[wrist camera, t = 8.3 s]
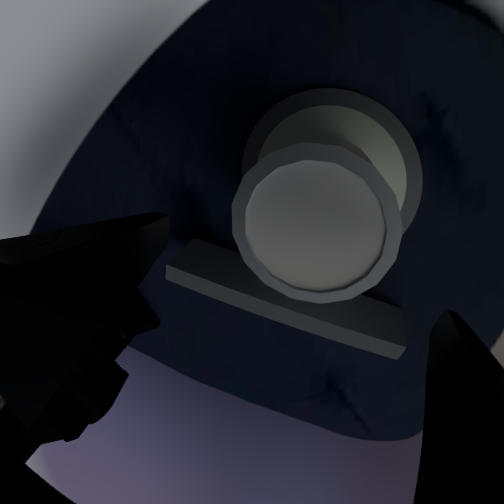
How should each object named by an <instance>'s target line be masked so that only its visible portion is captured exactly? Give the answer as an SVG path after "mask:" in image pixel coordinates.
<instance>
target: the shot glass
mask: <svg viewBox="0 0 504 504" xmlns="http://www.w3.org/2000/svg"><path fill="white" fill-rule="evenodd" d="M402 232H403V225H402V220H401V215H400V211H399V206H398V201H397V197H396V194H395V193H394V191H393V190H392V189H391V187H390V186H389V185H388V183H387V182H386V180H385V179H384V178H383V176H382V175H381V174H380V172H379V171H378V170H377V168H376V167H375V166H374V164H373V163H372V162H371V161H370V159H369V158H368V157H367V156H366V154H365V153H364V152H363V151H362V149H361V148H360V147H358V146H356V145H354V144H353V143H351V142H349V141H347V140H346V139H344V138H337V137H329V136H322V137H318V138H315V139H311V140H308V141H305V142H301V143H298V144H295V145H292V146H288V147H285V148H282V149H279V150H276V151H273V152H270V153H268V154H267V155H266V156H265V157H264V158H262V159H261V160H260V161H259V162H258V163H257V164H256V165H255V166H254V167H252V168H251V169H250V170H249V171H248V172H247V173H246V174H245V175H244V176H243V179H242V181H241V183H240V186H239V188H238V191H237V193H236V195H235V198H234V200H233V202H232V234H233V237H234V239H235V241H236V244H237V246H238V249H239V251H240V253H241V256H242V258H243V260H244V262H245V263H246V264H247V265H248V266H249V268H250V269H251V270H252V271H253V272H254V273H255V274H256V275H257V276H258V277H259V278H260V279H261V280H262V282H263V283H264V284H266V285H268V286H269V287H271V288H273V289H275V290H277V291H279V292H281V293H282V294H284V295H286V296H288V297H290V298H292V299H298V300H303V301H309V302H314V303H320V304H323V303H329V302H336V301H342V300H348V299H352V298H354V297H356V296H357V295H359V294H361V293H363V292H364V291H366V290H368V289H370V288H371V287H373V286H375V285H377V284H378V282H379V281H380V280H381V279H382V277H383V276H384V275H385V273H386V272H387V271H388V270H389V268H390V267H391V266H392V264H393V263H394V262H395V260H396V257H397V253H398V249H399V245H400V240H401V236H402Z"/></svg>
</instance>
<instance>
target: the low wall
mask: <svg viewBox="0 0 504 504" xmlns="http://www.w3.org/2000/svg"><path fill="white" fill-rule="evenodd" d="M166 279H167V280H169V281H172V282H174V283H177V284H179V285H182V286H184V287H187V288H189V289H192V290H194V291H197V292H199V293H202V294H204V295H207V296H210V297H212V298H215V299H218V300H220V301H223V302H225V303H228V304H231V305H233V306H236V307H239V308H242V309H244V310H247V311H250V312H253V313H255V314H258V315H261V316H264V317H266V318H269V319H272V320H275V321H278V322H281V323H284V324H286V325H289V326H292V327H295V328H298V329H301V330H304V331H307V332H310V333H313V334H316V335H319V336H322V337H325V338H328V339H331V340H334V341H338V342H341V343H344V344H347V345H350V346H353V347H357V348H360V349H363V350H366V351H370V352H373V353H376V354H380V355H383V356H386V357H390V358H393V359H397V360H398V358H399V357H400V356H401V354H402V353H403V352H404V350H405V349H406V336H405V326H404V316H403V308H400V307H397V306H394V305H391V304H388V303H385V302H382V301H379V300H376V299H373V298H370V297H367V296H364V295H361V294H359V295H357V296H356V297H354V298H352V299H348V300H342V301H336V302H329V303H323V304H320V303H314V302H309V301H303V300H298V299H292V298H290V297H288V296H286V295H284V294H282V293H281V292H279V291H277V290H275V289H273V288H271V287H269V286H268V285H266V284H264V283H263V282H262V280H261V279H260V278H259V277H258V276H257V275H256V274H255V273H254V272H253V271H252V270H251V269H250V268H249V266H248V265H247V264H246V263H245V262H244V260H243V258H242V256H241V254H240V253H237V252H234V251H231V250H228V249H225V248H223V247H220V246H217V245H214V244H211V243H208V242H205V241H202V240H199V239H196V238H193V239H192V240H191V241H190V242H189V243H188V244H187V245H186V246H185V247H184V248H183V249H182V250H181V251H180V252H179V253H178V254H177V255H176V256H175V257H174V258H173V259H172V260H171V261H170V262H168V263H167V264H166Z"/></svg>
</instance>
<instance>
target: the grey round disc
mask: <svg viewBox="0 0 504 504" xmlns="http://www.w3.org/2000/svg"><path fill="white" fill-rule="evenodd" d="M322 136H329V137H337V138H344V139H346V140H347V141H349V142H351V143H353V144H354V145H356V146H358V147H360V148H361V149H362V151H363V152H364V153H365V154H366V156H367V157H368V158H369V159H370V161H371V162H372V163H373V164H374V166H375V167H376V168H377V170H378V171H379V172H380V174H381V175H382V176H383V178H384V179H385V180H386V182H387V183H388V185H389V186H390V187H391V189H392V190H393V191H394V193H395V194H396V197H397V201H398V206H399V211H400V215H401V220H402V225H403V232H402V235H403V234H404V232H405V231H406V230H407V228H408V227H409V225H410V224H411V222H412V220H413V218H414V216H415V214H416V212H417V209H418V206H419V203H420V198H421V193H422V168H421V162H420V158H419V154H418V152H417V149H416V146H415V144H414V142H413V140H412V138H411V136H410V135H409V133H408V131H407V130H406V128H405V127H404V126H403V124H402V123H401V122H400V121H399V120H398V119H397V118H396V117H395V116H394V115H393V114H392V113H391V112H390V111H389V110H388V109H387V108H385V107H384V106H383V105H381V104H380V103H378V102H376V101H375V100H373V99H371V98H369V97H367V96H364V95H362V94H359V93H357V92H353V91H349V90H345V89H337V88H317V89H312V90H306V91H303V92H300V93H297V94H294V95H291V96H289V97H287V98H286V99H284V100H282V101H280V102H279V103H277V104H276V105H275V106H273V107H272V108H271V109H270V110H269V111H267V112H266V113H265V114H264V115H263V116H262V118H261V119H260V120H259V121H258V123H257V124H256V125H255V127H254V129H253V130H252V132H251V134H250V136H249V138H248V141H247V143H246V146H245V150H244V153H243V159H242V167H241V170H242V179H243V176H244V175H245V174H246V173H247V172H248V171H249V170H250V169H251V168H252V167H254V166H255V165H256V164H257V163H258V162H259V161H260V160H261V159H262V158H264V157H265V156H266V155H267V154H268V153H270V152H273V151H276V150H279V149H282V148H285V147H288V146H292V145H295V144H298V143H301V142H305V141H308V140H311V139H315V138H318V137H322Z"/></svg>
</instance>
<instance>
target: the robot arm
mask: <svg viewBox="0 0 504 504" xmlns="http://www.w3.org/2000/svg"><path fill="white" fill-rule="evenodd" d="M169 229H170V217H169V216H168V215H167V214H164V213H161V212H152V213H146V214H140V215H134V216H128V217H122V218H116V219H111V220H105V221H100V222H94V223H89V224H84V225H78V226H73V227H68V228H64V229H58V230H53V231H48V232H43V233H38V234H32V235H26V236H20V237H14V238H7V239H1V240H0V504H76V503H74V502H73V501H72V500H70V499H69V498H67V497H66V496H64V495H63V494H62V493H60V492H59V491H58V490H56V489H55V488H54V487H52V486H51V485H50V484H49V483H48V482H46V481H45V480H44V479H43V478H41V477H40V476H39V475H38V474H36V473H35V472H34V471H33V470H32V469H31V468H30V467H28V466H27V465H26V464H25V463H26V461H27V460H28V459H29V458H30V457H31V456H32V454H33V453H34V452H35V451H36V450H37V448H38V447H39V446H40V445H41V444H45V443H50V442H54V441H59V440H64V441H65V442H69V441H72V440H75V439H77V438H79V436H80V435H81V434H82V432H83V431H84V430H85V428H86V427H87V426H88V424H93V423H95V422H97V421H99V420H100V419H101V418H102V417H103V416H104V415H105V414H106V413H107V412H108V411H109V409H110V408H111V407H112V405H113V404H114V402H115V400H116V398H117V396H118V394H119V392H120V390H121V388H122V387H123V385H124V383H125V381H126V379H127V377H128V375H129V374H128V373H127V372H126V371H125V370H123V369H122V368H121V367H120V366H119V365H118V364H117V363H116V362H115V360H116V358H117V357H118V356H119V355H120V354H121V352H122V351H123V350H124V349H125V348H126V347H127V345H128V344H129V343H130V342H131V341H132V339H133V338H134V337H135V336H136V335H137V334H140V333H143V332H146V331H149V330H152V329H155V328H157V327H159V325H160V321H159V319H158V318H157V317H156V316H155V314H154V313H153V312H152V310H151V309H150V308H149V307H148V305H147V304H146V303H145V301H144V300H143V299H142V297H141V296H140V295H139V293H138V292H137V291H136V290H135V288H136V287H137V286H138V285H139V284H140V282H141V281H142V280H143V279H144V277H145V276H146V275H147V273H148V272H149V270H150V269H151V267H152V266H153V264H154V263H155V261H156V260H157V258H158V257H159V255H160V254H161V253H162V251H163V250H164V248H165V247H166V245H167V243H168V240H169ZM413 502H414V503H413V504H504V369H503V367H502V366H501V364H500V363H499V362H498V361H497V359H496V358H495V357H494V356H493V354H492V353H491V352H490V351H489V349H488V348H487V347H486V346H485V345H484V343H483V342H482V341H481V340H480V339H479V337H478V336H477V335H476V334H475V333H474V332H473V330H472V329H471V328H470V327H469V326H468V325H467V324H466V322H465V321H464V320H463V319H462V318H461V317H460V316H459V315H458V314H457V313H456V312H453V311H450V310H445V311H444V312H443V313H442V315H441V316H440V318H439V319H438V321H437V322H436V324H435V325H434V327H433V328H432V330H431V333H430V340H429V352H428V362H427V371H426V392H425V413H424V427H423V438H422V448H421V457H420V465H419V471H418V478H417V484H416V491H415V495H414V501H413Z"/></svg>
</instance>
